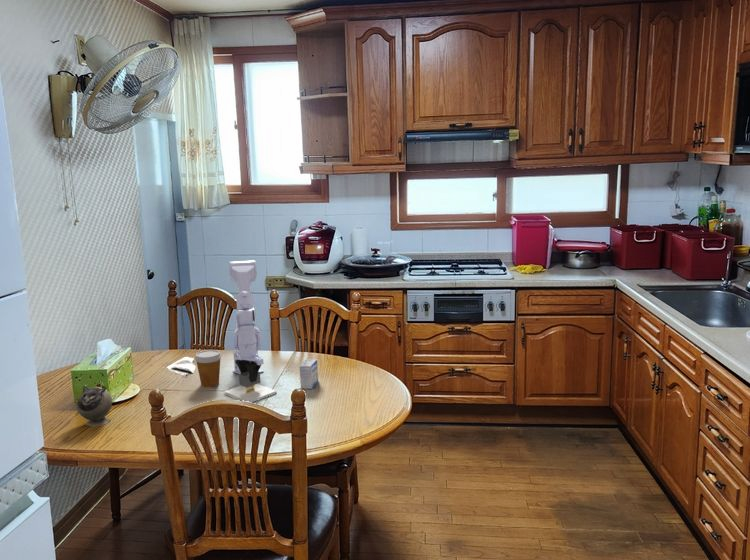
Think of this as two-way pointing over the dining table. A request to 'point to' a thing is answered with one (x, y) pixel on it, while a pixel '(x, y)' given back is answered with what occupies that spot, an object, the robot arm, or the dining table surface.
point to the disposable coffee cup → (208, 367)
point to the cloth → (183, 366)
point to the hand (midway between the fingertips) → (249, 380)
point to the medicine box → (309, 374)
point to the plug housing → (248, 379)
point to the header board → (250, 392)
